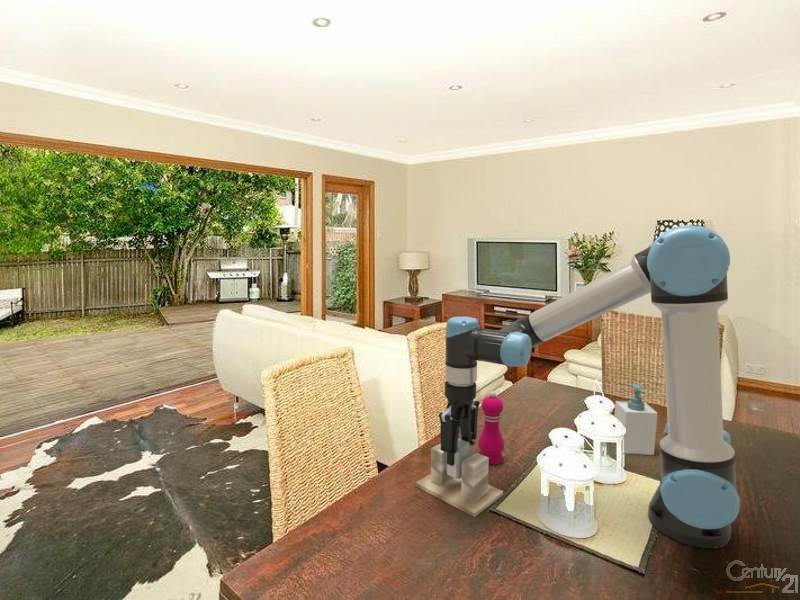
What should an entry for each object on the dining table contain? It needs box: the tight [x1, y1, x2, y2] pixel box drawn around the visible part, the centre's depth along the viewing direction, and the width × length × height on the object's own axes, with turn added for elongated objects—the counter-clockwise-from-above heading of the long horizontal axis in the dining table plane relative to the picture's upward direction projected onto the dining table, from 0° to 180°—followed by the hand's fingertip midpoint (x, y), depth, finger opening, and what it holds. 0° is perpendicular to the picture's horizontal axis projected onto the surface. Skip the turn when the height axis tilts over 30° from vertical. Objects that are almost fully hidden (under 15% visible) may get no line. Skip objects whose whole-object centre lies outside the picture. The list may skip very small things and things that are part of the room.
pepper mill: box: [477, 390, 505, 465], centre depth 125 cm, size 7×7×20 cm
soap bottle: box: [614, 383, 658, 456], centre depth 132 cm, size 9×9×19 cm
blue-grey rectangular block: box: [446, 437, 471, 479], centre depth 110 cm, size 4×4×8 cm
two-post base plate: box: [415, 442, 504, 518], centre depth 110 cm, size 18×12×10 cm, turn 46°
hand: (458, 472), depth 110 cm, fingers closed on blue-grey rectangular block, 4 cm apart
